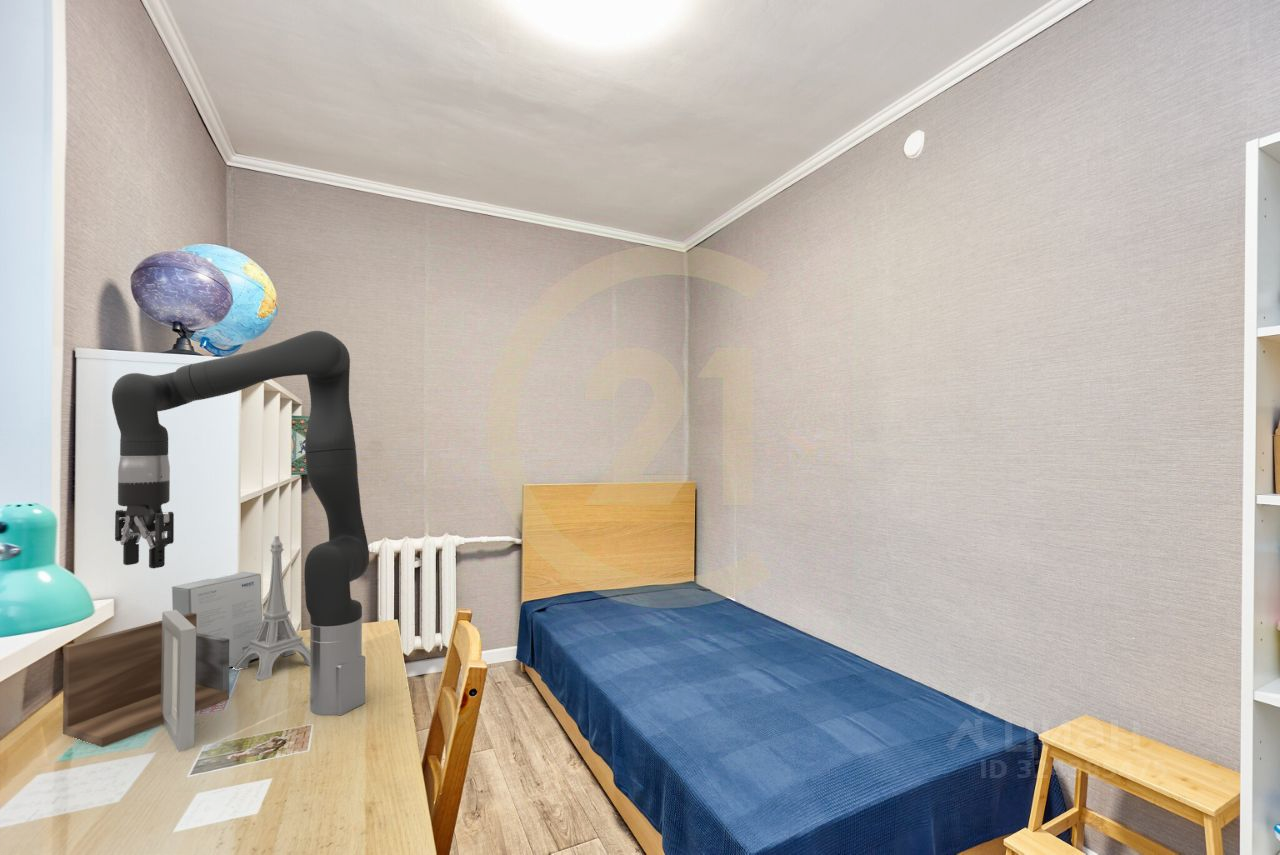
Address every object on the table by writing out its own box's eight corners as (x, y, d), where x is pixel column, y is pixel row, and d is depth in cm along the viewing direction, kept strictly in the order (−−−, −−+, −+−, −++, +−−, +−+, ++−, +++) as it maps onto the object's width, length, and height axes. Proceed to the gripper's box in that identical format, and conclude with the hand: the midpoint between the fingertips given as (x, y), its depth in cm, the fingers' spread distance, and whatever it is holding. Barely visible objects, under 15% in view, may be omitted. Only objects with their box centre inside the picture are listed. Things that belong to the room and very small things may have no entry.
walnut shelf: (229, 698, 119) (229, 619, 119) (102, 750, 100) (102, 655, 100) (191, 689, 124) (191, 612, 124) (62, 736, 104) (63, 645, 105)
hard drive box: (246, 652, 145) (245, 571, 145) (264, 656, 141) (262, 573, 142) (172, 675, 131) (171, 585, 132) (190, 680, 127) (188, 587, 128)
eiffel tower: (320, 661, 139) (321, 534, 140) (260, 681, 128) (261, 543, 128) (290, 651, 146) (290, 529, 147) (230, 669, 135) (230, 538, 135)
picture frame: (160, 723, 110) (162, 611, 110) (179, 718, 112) (181, 608, 112) (178, 754, 99) (181, 630, 100) (199, 747, 101) (201, 626, 102)
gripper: (189, 479, 113) (189, 565, 112) (144, 477, 118) (143, 559, 118) (144, 482, 106) (143, 573, 105) (98, 479, 111) (97, 567, 111)
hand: (143, 565), depth 112 cm, fingers open, 7 cm apart
